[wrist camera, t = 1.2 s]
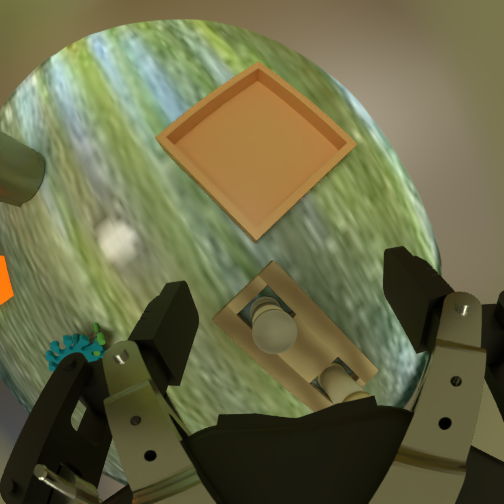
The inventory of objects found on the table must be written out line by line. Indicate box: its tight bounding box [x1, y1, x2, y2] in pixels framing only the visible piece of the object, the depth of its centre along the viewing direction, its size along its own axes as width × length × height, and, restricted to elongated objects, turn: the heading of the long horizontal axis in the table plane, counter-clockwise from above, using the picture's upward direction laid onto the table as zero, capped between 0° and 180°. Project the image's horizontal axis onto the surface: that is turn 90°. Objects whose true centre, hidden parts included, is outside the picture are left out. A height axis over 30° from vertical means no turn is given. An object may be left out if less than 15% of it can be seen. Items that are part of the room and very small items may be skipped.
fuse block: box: [212, 260, 378, 412], centre depth 32 cm, size 10×21×2 cm, turn 44°
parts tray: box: [156, 62, 357, 243], centre depth 32 cm, size 18×18×4 cm
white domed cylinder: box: [250, 296, 297, 354], centre depth 28 cm, size 4×4×11 cm
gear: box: [46, 323, 107, 371], centre depth 30 cm, size 11×6×10 cm
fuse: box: [316, 361, 371, 404], centre depth 28 cm, size 4×4×11 cm
